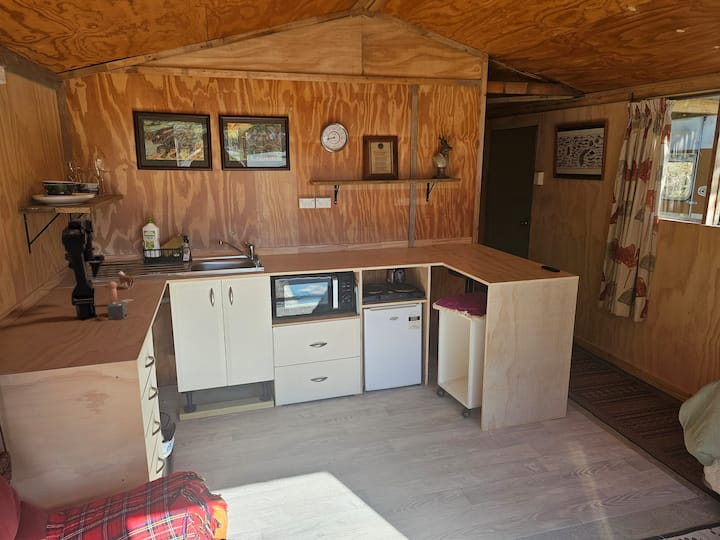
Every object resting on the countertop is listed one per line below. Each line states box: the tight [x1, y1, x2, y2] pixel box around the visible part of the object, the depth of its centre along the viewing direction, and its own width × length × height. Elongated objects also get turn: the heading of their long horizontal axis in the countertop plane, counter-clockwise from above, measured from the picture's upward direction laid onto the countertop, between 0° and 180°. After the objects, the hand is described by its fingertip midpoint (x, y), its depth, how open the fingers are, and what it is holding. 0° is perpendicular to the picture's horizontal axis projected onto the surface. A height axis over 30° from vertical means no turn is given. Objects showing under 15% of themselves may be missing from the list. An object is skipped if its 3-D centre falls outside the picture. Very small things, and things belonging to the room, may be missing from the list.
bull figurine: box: [116, 271, 135, 290], centre depth 270 cm, size 4×13×8 cm, turn 51°
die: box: [106, 301, 128, 321], centre depth 219 cm, size 6×6×6 cm
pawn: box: [107, 280, 119, 304], centre depth 233 cm, size 4×4×11 cm
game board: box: [119, 298, 133, 303], centre depth 238 cm, size 13×6×1 cm, turn 161°
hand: (88, 279), depth 232 cm, fingers open, 9 cm apart
